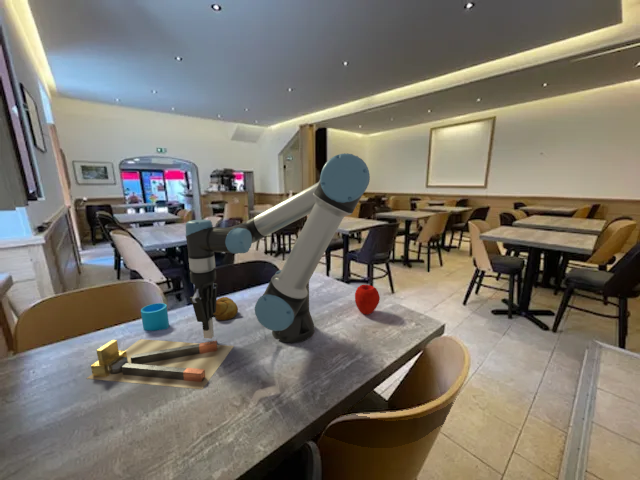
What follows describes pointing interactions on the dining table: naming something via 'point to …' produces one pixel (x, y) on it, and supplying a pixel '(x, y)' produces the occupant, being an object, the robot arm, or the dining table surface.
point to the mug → (155, 317)
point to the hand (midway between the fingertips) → (208, 337)
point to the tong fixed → (156, 371)
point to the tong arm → (174, 353)
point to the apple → (366, 299)
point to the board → (171, 364)
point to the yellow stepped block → (106, 358)
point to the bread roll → (225, 308)
